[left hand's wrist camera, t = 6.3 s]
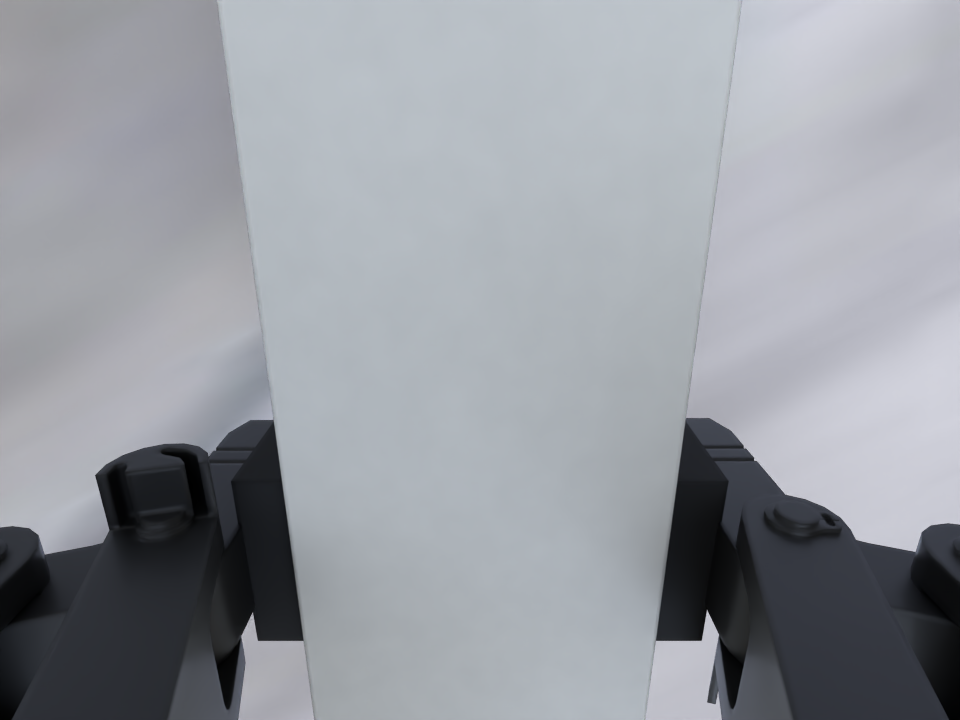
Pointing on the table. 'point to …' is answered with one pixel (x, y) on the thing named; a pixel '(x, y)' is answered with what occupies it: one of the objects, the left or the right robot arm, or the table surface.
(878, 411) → the table surface
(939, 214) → the table surface
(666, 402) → the post
